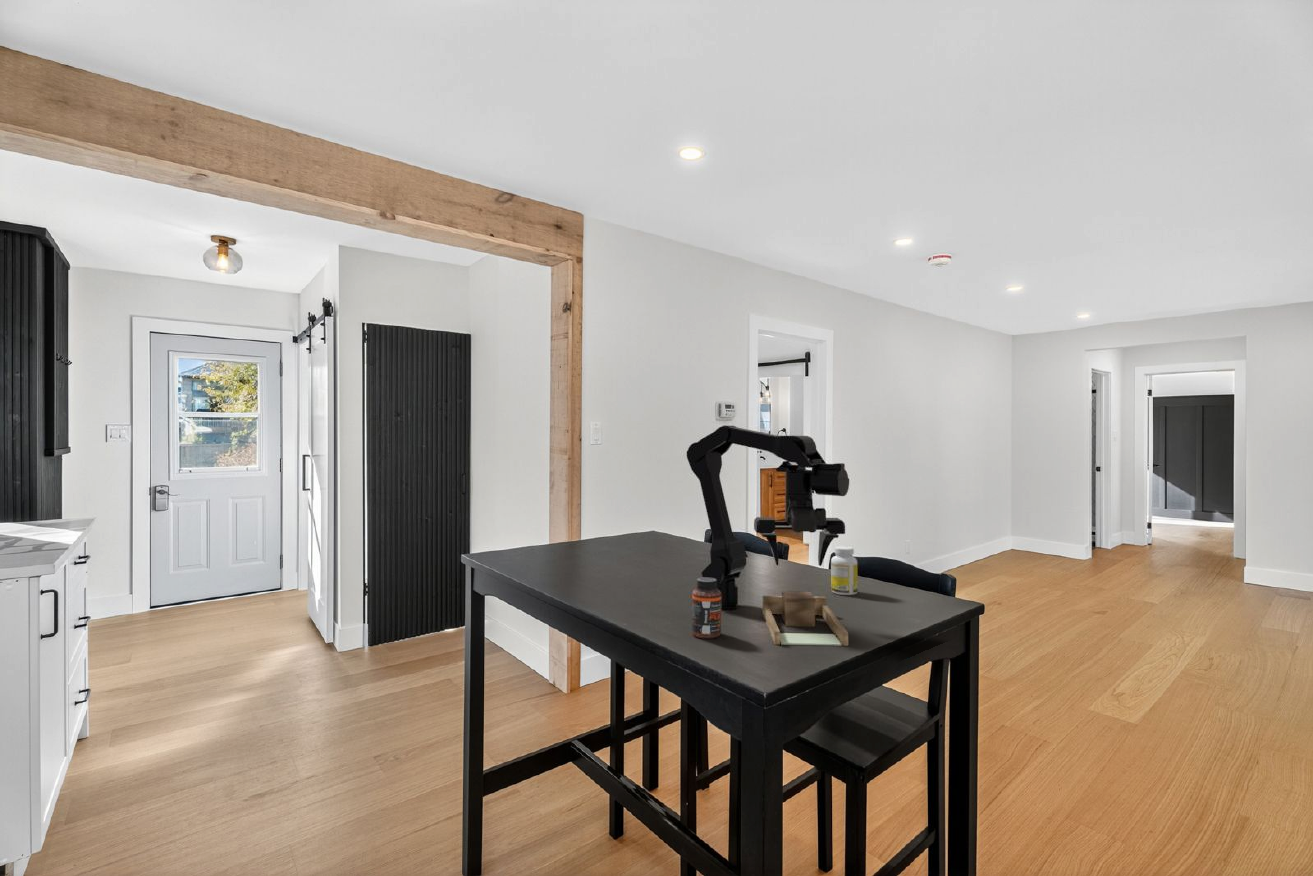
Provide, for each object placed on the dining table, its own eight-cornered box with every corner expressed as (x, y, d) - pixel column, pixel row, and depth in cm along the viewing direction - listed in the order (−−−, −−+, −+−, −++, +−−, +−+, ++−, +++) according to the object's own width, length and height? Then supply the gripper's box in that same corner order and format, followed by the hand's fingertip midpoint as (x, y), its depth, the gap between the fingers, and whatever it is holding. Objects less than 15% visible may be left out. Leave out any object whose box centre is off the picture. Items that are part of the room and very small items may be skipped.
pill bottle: (854, 590, 162) (854, 545, 162) (860, 596, 156) (860, 550, 156) (829, 589, 163) (829, 545, 163) (833, 595, 156) (833, 549, 156)
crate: (785, 626, 131) (785, 598, 131) (781, 618, 138) (781, 591, 138) (815, 627, 131) (815, 598, 131) (810, 618, 137) (810, 591, 137)
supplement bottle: (713, 641, 121) (713, 584, 121) (686, 636, 125) (686, 580, 125) (726, 633, 126) (726, 578, 126) (700, 628, 130) (700, 574, 130)
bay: (774, 644, 120) (774, 623, 120) (762, 613, 141) (762, 595, 141) (848, 645, 119) (848, 624, 119) (825, 614, 140) (825, 596, 140)
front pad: (781, 644, 120) (781, 642, 120) (777, 634, 126) (777, 633, 126) (841, 645, 119) (841, 644, 119) (834, 635, 125) (834, 634, 125)
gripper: (759, 496, 127) (759, 573, 127) (852, 497, 126) (851, 574, 126) (753, 491, 138) (753, 561, 138) (838, 492, 137) (838, 562, 137)
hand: (798, 565), depth 134 cm, fingers open, 9 cm apart
